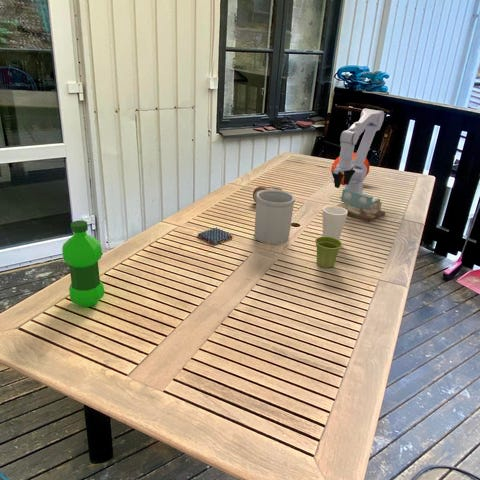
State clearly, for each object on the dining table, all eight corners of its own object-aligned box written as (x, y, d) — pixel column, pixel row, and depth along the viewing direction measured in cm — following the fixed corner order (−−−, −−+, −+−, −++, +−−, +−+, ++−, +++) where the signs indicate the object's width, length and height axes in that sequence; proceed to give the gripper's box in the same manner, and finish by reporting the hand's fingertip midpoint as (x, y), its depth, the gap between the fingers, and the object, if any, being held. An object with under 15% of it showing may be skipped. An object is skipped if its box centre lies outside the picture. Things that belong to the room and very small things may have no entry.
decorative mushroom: (334, 174, 257) (337, 149, 250) (369, 181, 249) (374, 155, 242) (325, 181, 245) (329, 154, 239) (363, 188, 237) (368, 161, 230)
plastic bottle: (86, 316, 122) (77, 235, 112) (61, 303, 127) (49, 224, 116) (113, 300, 130) (107, 222, 119) (89, 288, 135) (80, 213, 124)
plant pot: (340, 260, 160) (343, 239, 157) (336, 272, 152) (340, 250, 148) (314, 255, 163) (317, 234, 159) (309, 267, 155) (312, 245, 151)
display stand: (349, 203, 215) (351, 191, 212) (384, 215, 203) (387, 202, 201) (332, 209, 206) (334, 197, 203) (369, 222, 194) (371, 210, 192)
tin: (284, 204, 209) (285, 187, 205) (284, 207, 206) (285, 190, 202) (252, 202, 210) (253, 185, 206) (251, 204, 207) (253, 187, 203)
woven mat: (195, 237, 172) (195, 233, 172) (215, 231, 179) (216, 226, 178) (213, 247, 166) (213, 242, 165) (233, 239, 173) (233, 235, 172)
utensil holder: (298, 237, 176) (303, 196, 168) (274, 249, 166) (278, 205, 158) (269, 226, 185) (273, 186, 177) (245, 236, 175) (248, 194, 167)
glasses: (352, 196, 212) (354, 184, 209) (379, 205, 203) (381, 192, 201) (340, 201, 205) (342, 189, 202) (367, 210, 196) (370, 197, 194)
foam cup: (344, 238, 178) (350, 208, 172) (339, 247, 170) (344, 216, 164) (322, 233, 181) (326, 204, 175) (315, 242, 173) (320, 211, 168)
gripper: (347, 153, 208) (342, 180, 214) (329, 157, 199) (325, 186, 205) (360, 156, 204) (355, 184, 210) (343, 161, 195) (338, 190, 200)
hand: (341, 185), depth 207 cm, fingers open, 7 cm apart
